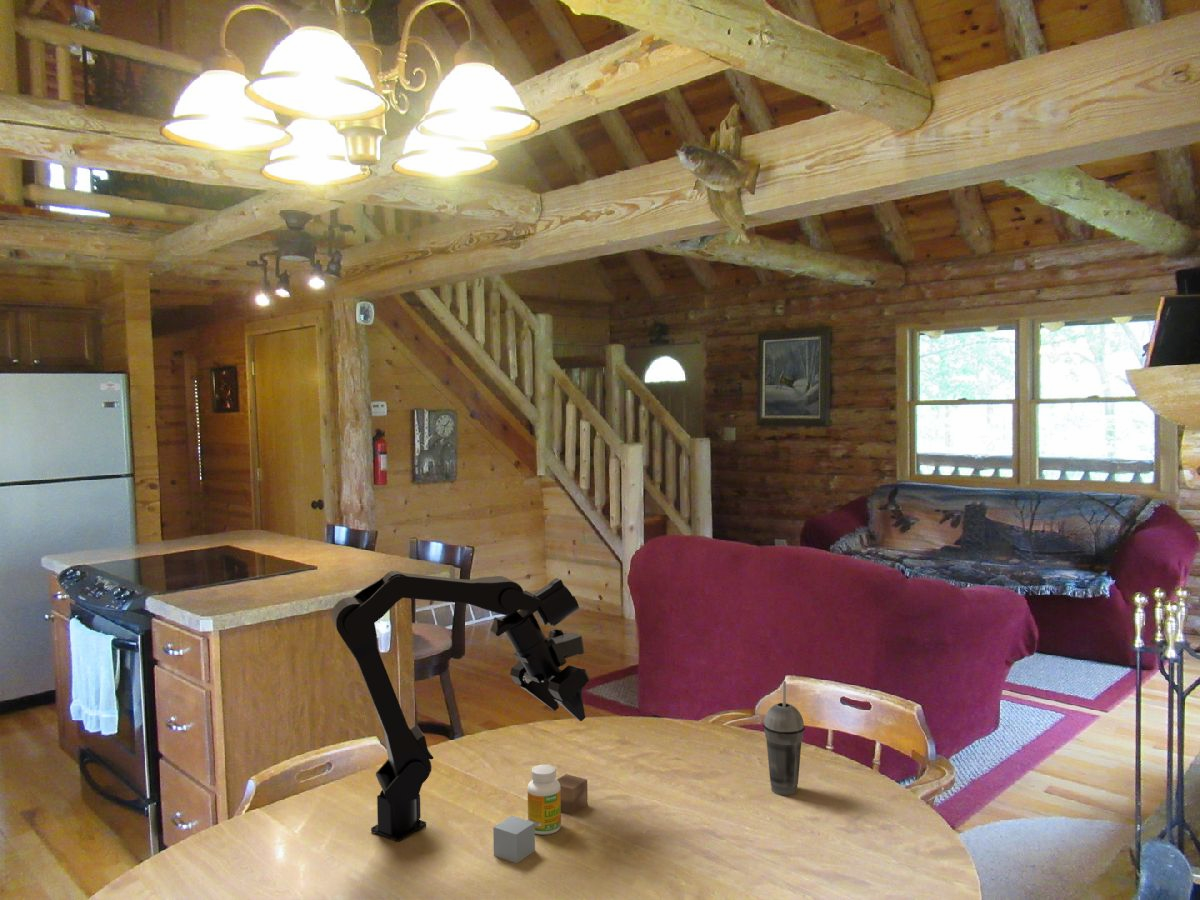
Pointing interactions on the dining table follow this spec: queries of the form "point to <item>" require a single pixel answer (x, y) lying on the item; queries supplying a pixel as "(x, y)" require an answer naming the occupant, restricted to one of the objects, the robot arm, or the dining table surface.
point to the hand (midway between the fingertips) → (569, 714)
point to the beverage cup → (784, 746)
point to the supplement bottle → (544, 800)
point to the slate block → (514, 839)
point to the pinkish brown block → (573, 793)
